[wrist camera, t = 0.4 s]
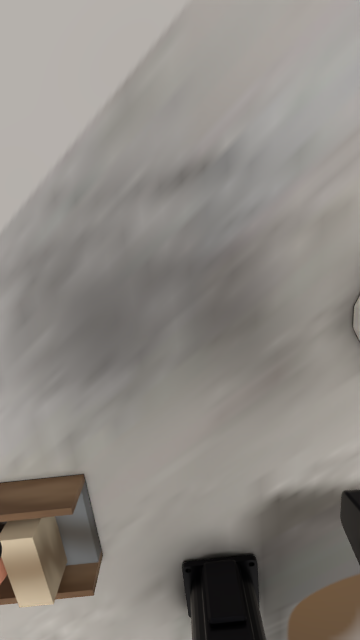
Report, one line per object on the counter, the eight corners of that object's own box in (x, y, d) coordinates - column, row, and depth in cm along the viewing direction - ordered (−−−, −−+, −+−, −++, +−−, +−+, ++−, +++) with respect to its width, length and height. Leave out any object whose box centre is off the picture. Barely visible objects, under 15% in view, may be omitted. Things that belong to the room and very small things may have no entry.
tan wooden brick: (67, 560, 25) (53, 604, 22) (37, 563, 25) (19, 607, 22) (50, 499, 23) (32, 537, 20) (18, 502, 23) (-5, 541, 20)
